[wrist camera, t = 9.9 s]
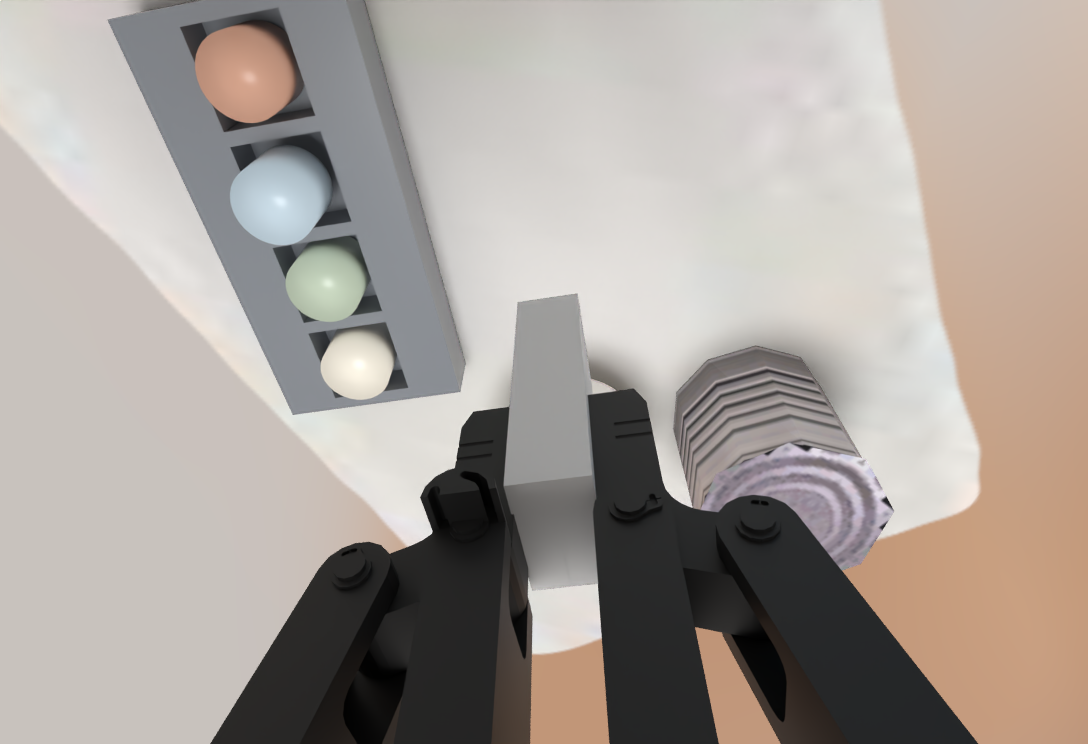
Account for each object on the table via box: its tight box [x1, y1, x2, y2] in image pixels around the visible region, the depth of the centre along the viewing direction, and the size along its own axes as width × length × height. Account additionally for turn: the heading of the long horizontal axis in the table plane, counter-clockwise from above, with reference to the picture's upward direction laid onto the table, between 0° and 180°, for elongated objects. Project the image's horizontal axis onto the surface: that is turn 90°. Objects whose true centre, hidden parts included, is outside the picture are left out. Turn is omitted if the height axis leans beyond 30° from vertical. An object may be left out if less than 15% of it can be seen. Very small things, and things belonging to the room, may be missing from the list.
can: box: [673, 346, 894, 570], centre depth 46 cm, size 11×11×12 cm
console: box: [108, 0, 465, 415], centre depth 41 cm, size 25×12×4 cm, turn 10°
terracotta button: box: [195, 20, 304, 123], centre depth 36 cm, size 4×4×4 cm
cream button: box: [321, 322, 397, 400], centre depth 45 cm, size 4×4×4 cm
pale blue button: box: [230, 145, 333, 245], centre depth 37 cm, size 4×4×4 cm
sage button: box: [286, 236, 371, 322], centre depth 42 cm, size 4×4×4 cm
